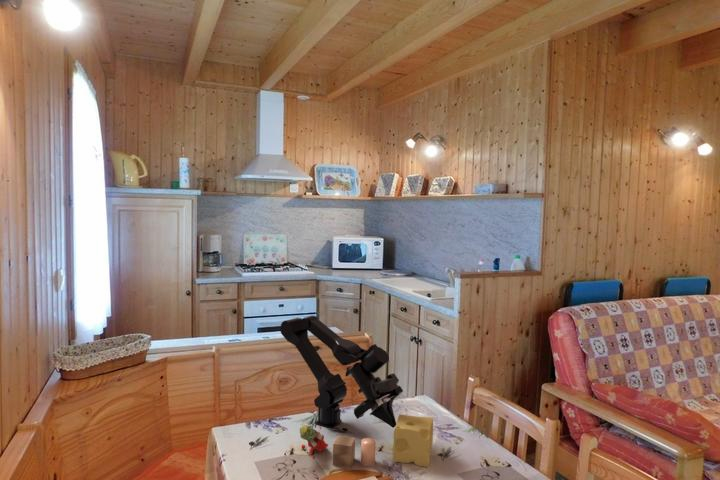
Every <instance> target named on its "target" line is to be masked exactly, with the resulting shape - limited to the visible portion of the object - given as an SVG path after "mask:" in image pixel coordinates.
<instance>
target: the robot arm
mask: <svg viewBox="0 0 720 480" xmlns="http://www.w3.org/2000/svg"><path fill="white" fill-rule="evenodd" d="M279 331H280V334H281V335H282V337H283V338H284V339H285V340H286V341H287V342H288V343H290V344H292V345H293V346H295V348H296V349H297V351H298V352H299V353H300V356H301V357H302V358H303V360H304V362H305V364H306V365H307V366H308V368H309V370H310V371H311V373H312V374H313V376H314V378H315V380H316V381H317V391H318V396H317V397H316V398H315V399H313V403H314V406H315V407H316V408H318V409H317V411H318V412H317V413H318V414H317V420H316V421H315V425H318V426H320V427H321V426H322V427H325V428H329V429H333V428H335V427H336V426H337V425H339V424H340V423H341V422H342V419H341V411H342V410H341V409H340V407H341V406H340V403H343V402H344V399H345V398H346V396H347V392H348V389H347V388H348V387H347V386H346V384H347V383H346V382H345V381H344V380H343V378H342V376H341V375H340V374H339V373H336V374H334V373H331V371H330V370H329V368H328V366H327V365H326V363H325V362H324V360H323V359H322V357H321V356H320V354H319V352H318V351H317V350H316V348H315V346H314V345H313V343H312V342H311V340H310V338H309V333H310V334H312V335H313V336H314V337H315V338H316V339H317V340H319V341H320V342H321V343H323V344H324V345H325V346H326V347H328V349H330V350H331V352H332V355H333V357H334V358H335V360H336V361H337V362H339V364H340V365H342V366H347V367H346V371H345V377H346V378H347V377H349V376H351V377H352V378H353V380H354V381H355V383H356V385H357V387H359V389H357V391H358V393H359V394H361V393H362V394H363V397H365V400H363V401H362V402H361V403H359V404H358V405H357V406H355V408H354V409H353V415H354V416H355V418H356V420H358V419H360V418H362V417H364V415H365V413H366V412H368V411H369V410H371V412H370V413H369V415H370V416H373V417H375V418H377V419H379V420H380V421H381V422H383V423H386V424H387V425H388V426H390V427H391V428H392V429H394V428H395V426H396V424H397V421H396V418H395V413H394V410H393V409H394V408H393V402H394V401H395V399H397V397H399V396H400V395H401V394H402V393H403V392H404V390H403V388H402V387H401V385H398V383H399V381H400V380H399V378H398V377H397V375H396V374H395V373H389V374H388V375H386V378H385V379H381V378H380V377H379V376H377V377H376V376H375V375H374V374H375V373H377V372H378V371H380V370H381V369H382V368H383V367H384V366H385V365H386V364H387V363H389V359H390V357H389V354H388V353H387V351H386V350H385V349H383V348H382V347H380V346H378V345H377V344H376V343H374V344H371V345H370V346H369V347H368V349H364V348H362V347H361V346H360V345H359V344H357V343H356V342H354V341H353V340H350V339H345V338H343V337H342V336H340V335H338V334H337V333H336V332H335V331H334V330H332V329H331V328H329V326H327V325H326V324H325V323H323V322H322V321H321V320H319V318H318V317H317V316H316V315H310V316H309V315H308V316H305V317H303V318H301V317H295V318H291V319H287V320H283V321H282V322H281V324H280V330H279ZM308 332H309V333H308ZM359 361H360V362H359ZM349 365H350V366H349Z"/></svg>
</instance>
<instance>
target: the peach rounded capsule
mask: <svg viewBox="0 0 720 480" xmlns="http://www.w3.org/2000/svg"><path fill="white" fill-rule="evenodd" d="M376 446H377V441H376V440H375V439H374V438H371V437H370V438H369V437H366V438H363V439H361V445H360V464H361V465H363V466H364V467H372V466H374V465H376V450H377V449H376V448H377V447H376Z"/></svg>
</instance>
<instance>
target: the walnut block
mask: <svg viewBox="0 0 720 480" xmlns="http://www.w3.org/2000/svg"><path fill="white" fill-rule="evenodd" d="M355 453H356V437H351V436H345V435H337V436H336V438H335V440H334V442H333V443H332V465H333V466H338V467H344V468H351V467H352V465H353V463H354V461H355V457H356V455H355Z"/></svg>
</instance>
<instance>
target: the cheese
mask: <svg viewBox="0 0 720 480" xmlns="http://www.w3.org/2000/svg"><path fill="white" fill-rule="evenodd" d="M433 439H434V418H433V417H431V416H416V415H407V414H401V413H400V414H399V415H398V418H397V421H396V426H395V427H394V428H393V443H392V445H393V446H392V447H393V448H392V455H393V456H392V457H393V458H392V459H393V461H392V462H394V463H402V464H410V463H414V464H415V466H419V467H424V468H429V466H430V462H431V452H432V447H433Z"/></svg>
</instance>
